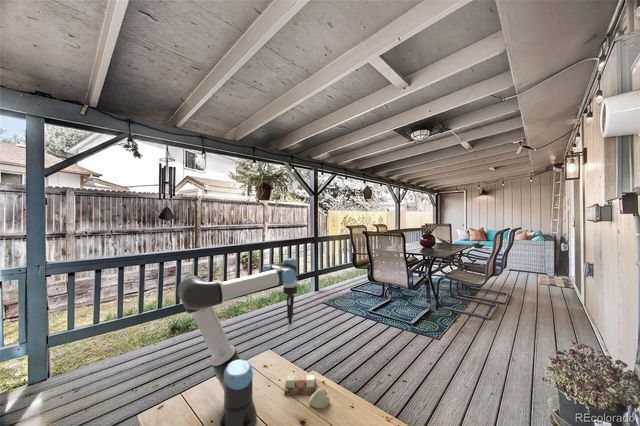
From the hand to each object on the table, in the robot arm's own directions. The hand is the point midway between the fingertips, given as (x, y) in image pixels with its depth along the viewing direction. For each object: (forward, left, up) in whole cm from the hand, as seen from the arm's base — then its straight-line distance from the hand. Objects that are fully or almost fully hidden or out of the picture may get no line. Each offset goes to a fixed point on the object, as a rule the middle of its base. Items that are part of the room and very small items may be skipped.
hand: (290, 328), depth 136 cm
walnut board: (+6, -10, -27) cm, 29 cm away
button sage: (+1, -11, -24) cm, 27 cm away
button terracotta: (+6, -10, -24) cm, 27 cm away
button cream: (+11, -11, -24) cm, 29 cm away
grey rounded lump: (+15, -20, -27) cm, 37 cm away
